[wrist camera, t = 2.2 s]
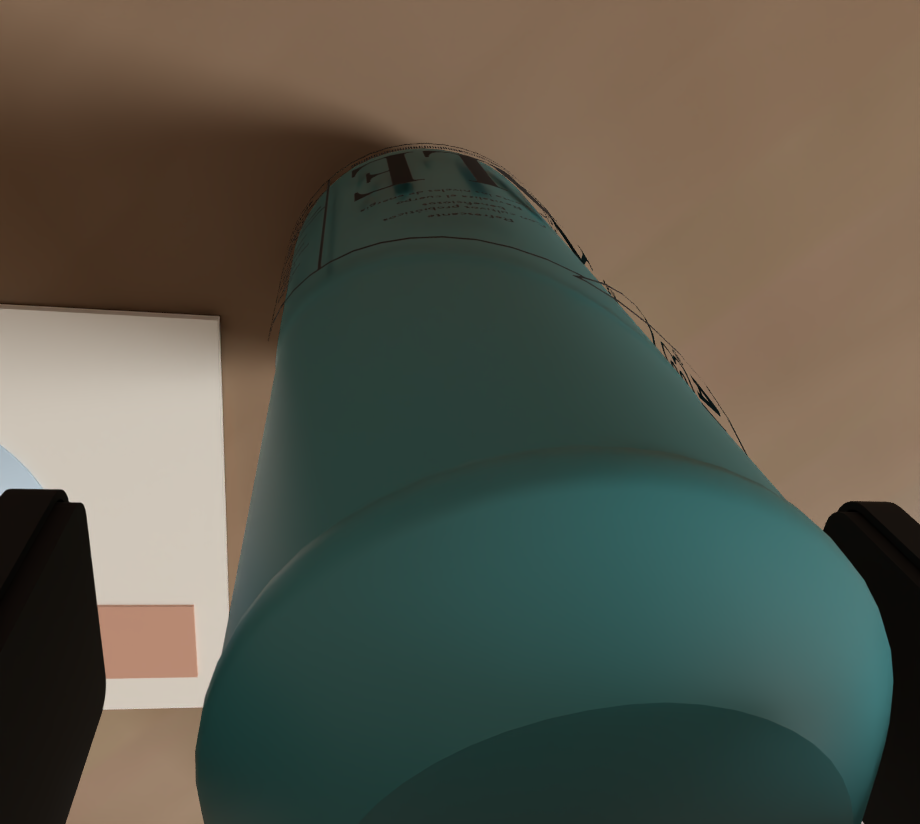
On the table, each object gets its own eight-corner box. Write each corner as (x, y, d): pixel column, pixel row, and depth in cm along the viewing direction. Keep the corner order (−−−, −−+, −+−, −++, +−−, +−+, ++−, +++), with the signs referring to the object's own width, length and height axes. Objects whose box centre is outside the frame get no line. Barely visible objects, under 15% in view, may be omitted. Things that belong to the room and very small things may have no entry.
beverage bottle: (344, 400, 22) (346, 1923, 5) (245, 170, 19) (-876, 2302, 2) (565, 327, 22) (1410, 1638, 5) (503, 82, 19) (2580, 1380, 1)
